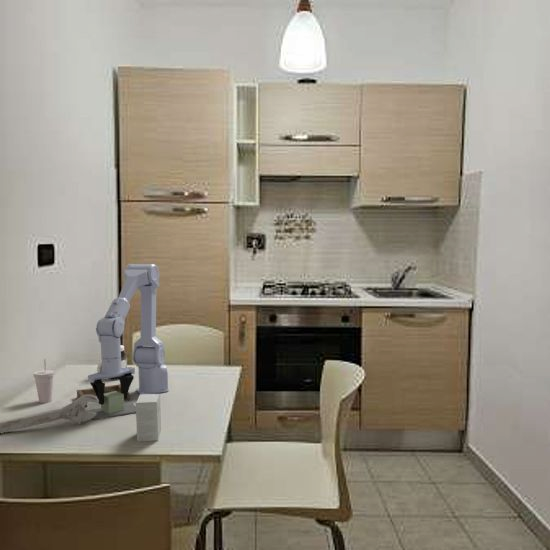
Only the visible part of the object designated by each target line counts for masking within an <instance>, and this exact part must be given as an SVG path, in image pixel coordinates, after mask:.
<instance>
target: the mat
mask: <svg viewBox="0 0 550 550" xmlns="http://www.w3.org/2000/svg"><path fill="white" fill-rule="evenodd" d="M87 411H91V412H96V413H97V414H96V416H95V417H93V418H91V419H90V420H92V421H94V420H96V421H97V420H101V419H102V418H103V419H108V417H109V418H114V416H115V417H120V416H126V415H133V414H136V404H134V403H133V402H131V403H126V404H125V403H124V410H123V411H119V412H115V413H111V414H108V413H106V412H104V411H101V407H99V408H92V409H87V410H86V412H87Z"/></svg>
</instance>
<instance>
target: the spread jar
mask: <svg viewBox="0 0 550 550" xmlns="http://www.w3.org/2000/svg"><path fill="white" fill-rule="evenodd" d="M120 345H121V368H127V367H128V356H127V353H126V351H125V346H124V345H122V344H120ZM96 371H97V372H96V373H98V372H101V371H102V360H100V361H99V363H98V365H97V367H96ZM108 380H119V377H114V378H109V379H108Z"/></svg>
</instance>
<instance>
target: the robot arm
mask: <svg viewBox="0 0 550 550" xmlns="http://www.w3.org/2000/svg"><path fill="white" fill-rule="evenodd" d="M123 274H124V275H123V277H124V283H123V285H122V287H121V291H120V292H119V296H118V297H116V298H114V299H113V300H112V302H111V304H110V305H109V308H108V310H107V311H106V314H105V315H104V317H102V318H100V319H99V320H98V322H97V323H96V328H95V332H96V334H97V337H98V342H99V343H100V355H101V360H102V371H101V372H95V373H92V374H88V375H87V382H88V383H90V385H91V388H93V389H94V391H95V393H96V396H95V397H97V398H98V400H99V403H98V405H100V406H101V405H103V404H104V388H105V386H106V383H105V382H103V380H110V379H109V378H114V377H119V379H118V380H119V384H120V385H121V393H122V394H124V399H127V395H128V392H129V391H130V387H131V385H132V383H133V381H134V379H135V377H134V375H135V373H136V371H135V367H133V366H129V367H128V366H127V368H121V345H122V344H121V337H122V335H123V334H124V331H125V324H126V321H125V320H126V317H127V315H128V313H129V311H130V309H131V304H130V302H131V300H132V298H133V297H134V295H135V294H136V292H137V290H139V292H140V337H139V339H137V340H136V341H135V342H133V351H132V356H131V357H132V361H133V363H134V364H135V365H136V367H137V368H138V388H135V391H136V392H137V393H139V395H140V394H160V393H166V392H169V381H168V379H169V377H168V376H169V375H168V367H167V365H166V363H165V364H164V361H165V360H166V359H165V358H166V352H165V348H164V346H165V345H164V342H163V341H161V340H160V339H159V338H158V337H157V336H156V335H157V289H158V288H160V270H159V267H158V266H157V265H156V264H154V263H148V264H145V263H144V264H142V263H137V264H132V263H128V264H127V265H126V266H125V270H124V272H123ZM101 360H100V361H101Z"/></svg>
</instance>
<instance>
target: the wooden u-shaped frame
mask: <svg viewBox="0 0 550 550" xmlns="http://www.w3.org/2000/svg"><path fill="white" fill-rule="evenodd" d="M114 391H117V392H119V393H121V385H120V383H119V384H114V385H105V388H104V394H105V393H109V392H114ZM86 394H90V395H94V396H95V397H97V396H96V393H95V391H94V389H93V387H89V388H84V389H77V390H76V397H77V399H78V398H80V397H81V396H83V395H86ZM128 401H130V392H129V391H128V395H127V399H124V402H128ZM86 407H88V403H87V404H86V406H85V407H84V408H86Z"/></svg>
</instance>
